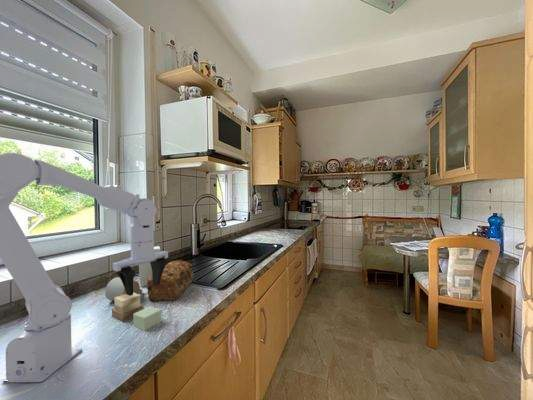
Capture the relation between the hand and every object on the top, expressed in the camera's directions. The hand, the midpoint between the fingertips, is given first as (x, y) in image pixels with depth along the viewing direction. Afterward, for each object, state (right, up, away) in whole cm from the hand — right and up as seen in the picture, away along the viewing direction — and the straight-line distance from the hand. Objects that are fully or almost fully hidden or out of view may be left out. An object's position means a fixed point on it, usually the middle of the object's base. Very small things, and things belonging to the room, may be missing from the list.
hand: (143, 289), depth 63 cm
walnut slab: (-8, -10, +5) cm, 14 cm away
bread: (-1, -10, +23) cm, 25 cm away
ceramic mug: (-15, -10, +17) cm, 25 cm away
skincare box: (-14, -10, +31) cm, 36 cm away
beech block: (-8, -8, +5) cm, 12 cm away
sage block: (+1, -10, 0) cm, 10 cm away
